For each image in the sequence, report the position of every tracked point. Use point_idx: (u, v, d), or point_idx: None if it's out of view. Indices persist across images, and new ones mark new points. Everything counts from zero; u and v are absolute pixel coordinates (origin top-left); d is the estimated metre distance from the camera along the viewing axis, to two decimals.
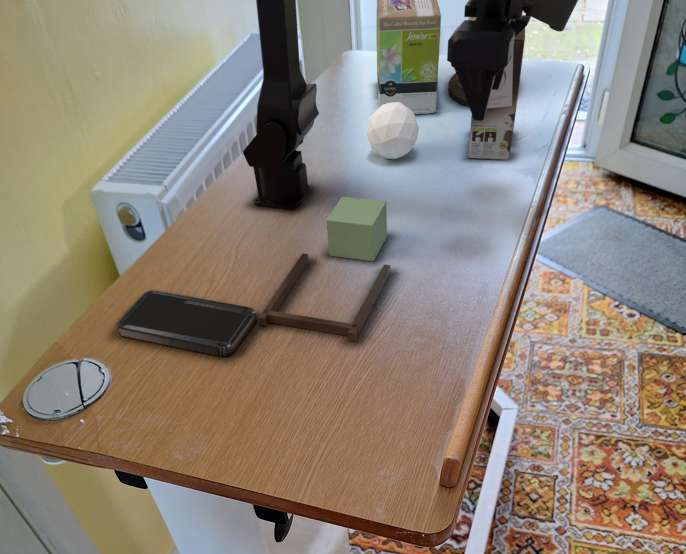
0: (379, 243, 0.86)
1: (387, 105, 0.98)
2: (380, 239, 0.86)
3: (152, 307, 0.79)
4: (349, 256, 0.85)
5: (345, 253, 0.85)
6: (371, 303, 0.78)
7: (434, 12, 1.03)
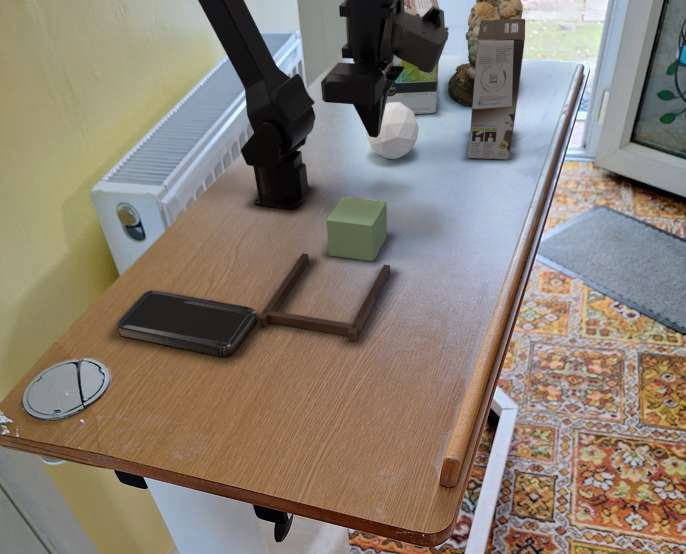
0: (379, 243, 0.86)
1: (387, 105, 0.98)
2: (380, 239, 0.86)
3: (152, 307, 0.79)
4: (349, 256, 0.85)
5: (345, 253, 0.85)
6: (371, 303, 0.78)
7: None
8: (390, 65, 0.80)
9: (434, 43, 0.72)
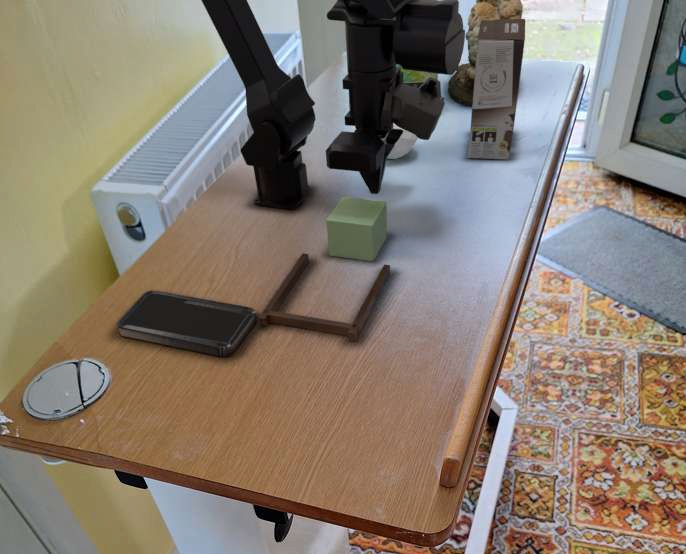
0: (379, 243, 0.86)
1: None
2: (380, 239, 0.86)
3: (152, 307, 0.79)
4: (349, 256, 0.85)
5: (345, 253, 0.85)
6: (371, 303, 0.78)
7: None
8: None
9: (431, 114, 0.78)
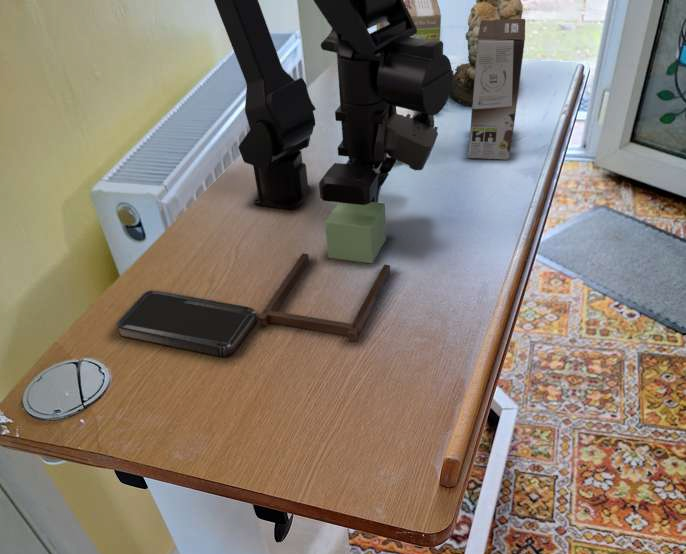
0: (378, 245, 0.85)
1: None
2: (379, 241, 0.85)
3: (152, 307, 0.79)
4: (348, 258, 0.85)
5: (344, 255, 0.85)
6: (371, 303, 0.78)
7: (434, 12, 1.03)
8: None
9: (424, 146, 0.77)
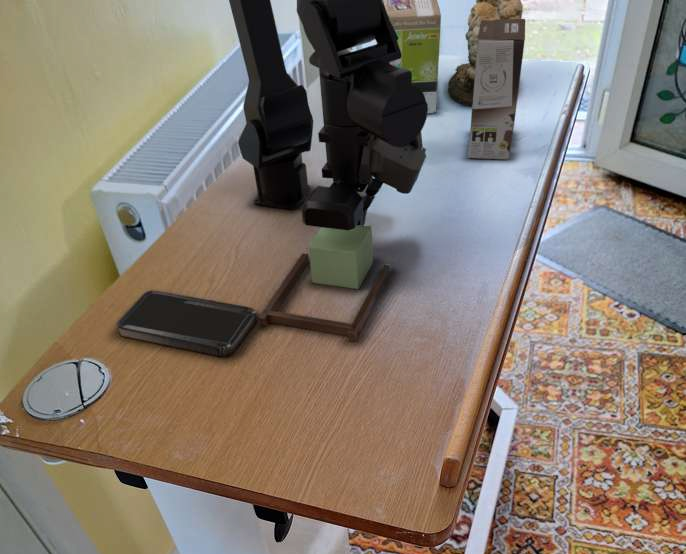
0: (364, 270, 0.82)
1: None
2: (365, 265, 0.82)
3: (152, 307, 0.79)
4: (333, 284, 0.82)
5: (329, 281, 0.81)
6: (371, 303, 0.78)
7: (434, 12, 1.03)
8: None
9: (411, 169, 0.74)
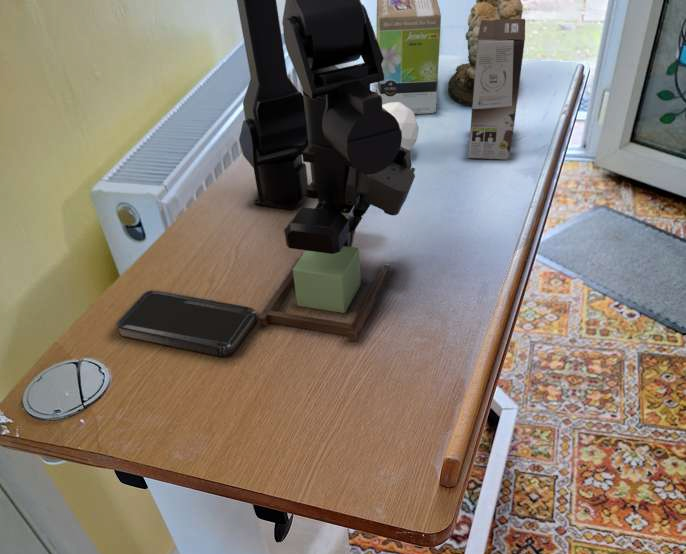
0: (351, 293, 0.79)
1: (387, 105, 0.98)
2: (352, 288, 0.79)
3: (152, 307, 0.79)
4: (318, 307, 0.79)
5: (315, 304, 0.78)
6: (371, 303, 0.78)
7: (434, 12, 1.03)
8: None
9: (399, 190, 0.71)
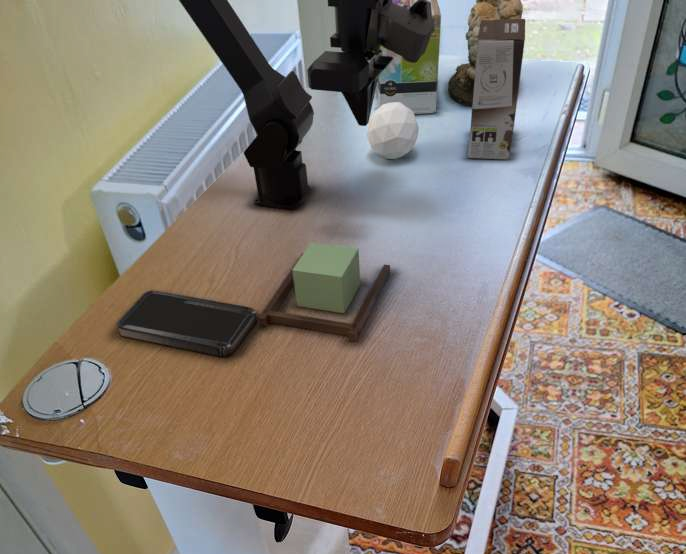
0: (351, 293, 0.79)
1: (387, 105, 0.98)
2: (352, 289, 0.79)
3: (152, 307, 0.79)
4: (318, 307, 0.79)
5: (314, 304, 0.78)
6: (371, 303, 0.78)
7: (434, 12, 1.03)
8: (379, 55, 0.82)
9: (418, 33, 0.74)
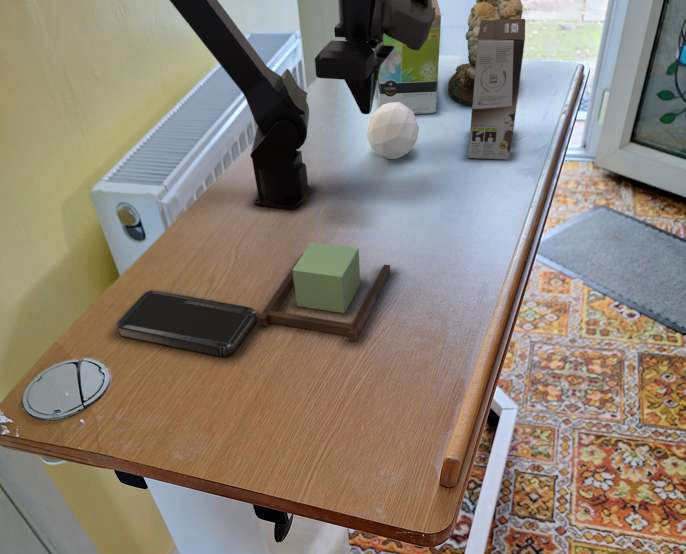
0: (351, 293, 0.79)
1: (387, 105, 0.98)
2: (352, 289, 0.79)
3: (152, 307, 0.79)
4: (318, 307, 0.79)
5: (314, 304, 0.78)
6: (371, 303, 0.78)
7: None
8: (381, 44, 0.84)
9: (421, 21, 0.77)
